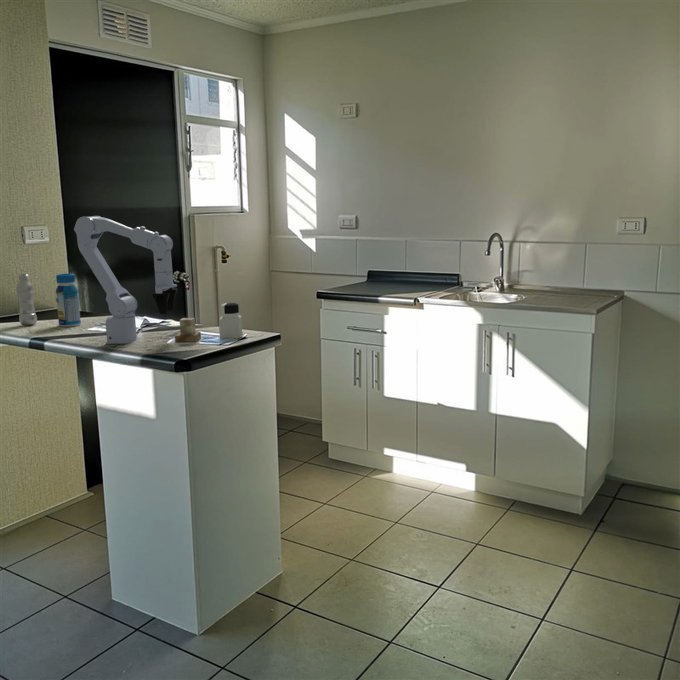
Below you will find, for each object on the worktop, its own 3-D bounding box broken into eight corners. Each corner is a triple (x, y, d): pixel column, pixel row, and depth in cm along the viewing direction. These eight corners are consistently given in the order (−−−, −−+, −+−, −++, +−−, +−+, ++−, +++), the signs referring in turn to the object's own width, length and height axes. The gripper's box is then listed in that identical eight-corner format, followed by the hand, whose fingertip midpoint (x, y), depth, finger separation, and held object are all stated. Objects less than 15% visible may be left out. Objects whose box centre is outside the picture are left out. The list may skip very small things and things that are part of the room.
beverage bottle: (76, 327, 277) (72, 275, 273) (55, 327, 277) (50, 275, 273) (84, 323, 285) (80, 273, 281) (63, 323, 285) (58, 273, 281)
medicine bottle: (242, 335, 255) (240, 301, 252) (240, 339, 248) (238, 304, 246) (222, 335, 255) (220, 302, 252) (219, 339, 248) (217, 305, 245)
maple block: (180, 334, 241) (179, 320, 240) (184, 332, 245) (183, 318, 244) (192, 334, 241) (191, 319, 240) (195, 332, 245) (194, 317, 244)
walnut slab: (175, 342, 240) (174, 335, 240) (180, 338, 247) (180, 331, 247) (195, 342, 240) (195, 335, 239) (200, 338, 247) (200, 331, 246)
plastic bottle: (22, 327, 278) (17, 275, 274) (17, 325, 283) (12, 274, 280) (39, 325, 282) (34, 274, 278) (34, 323, 287) (29, 273, 284)
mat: (167, 345, 238) (167, 343, 238) (177, 338, 250) (176, 336, 250) (198, 345, 237) (197, 343, 237) (206, 338, 249) (206, 336, 249)
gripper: (169, 273, 232) (172, 315, 235) (181, 269, 246) (183, 308, 249) (147, 274, 232) (151, 315, 235) (160, 269, 246) (163, 308, 249)
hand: (166, 312), depth 242 cm, fingers open, 7 cm apart
